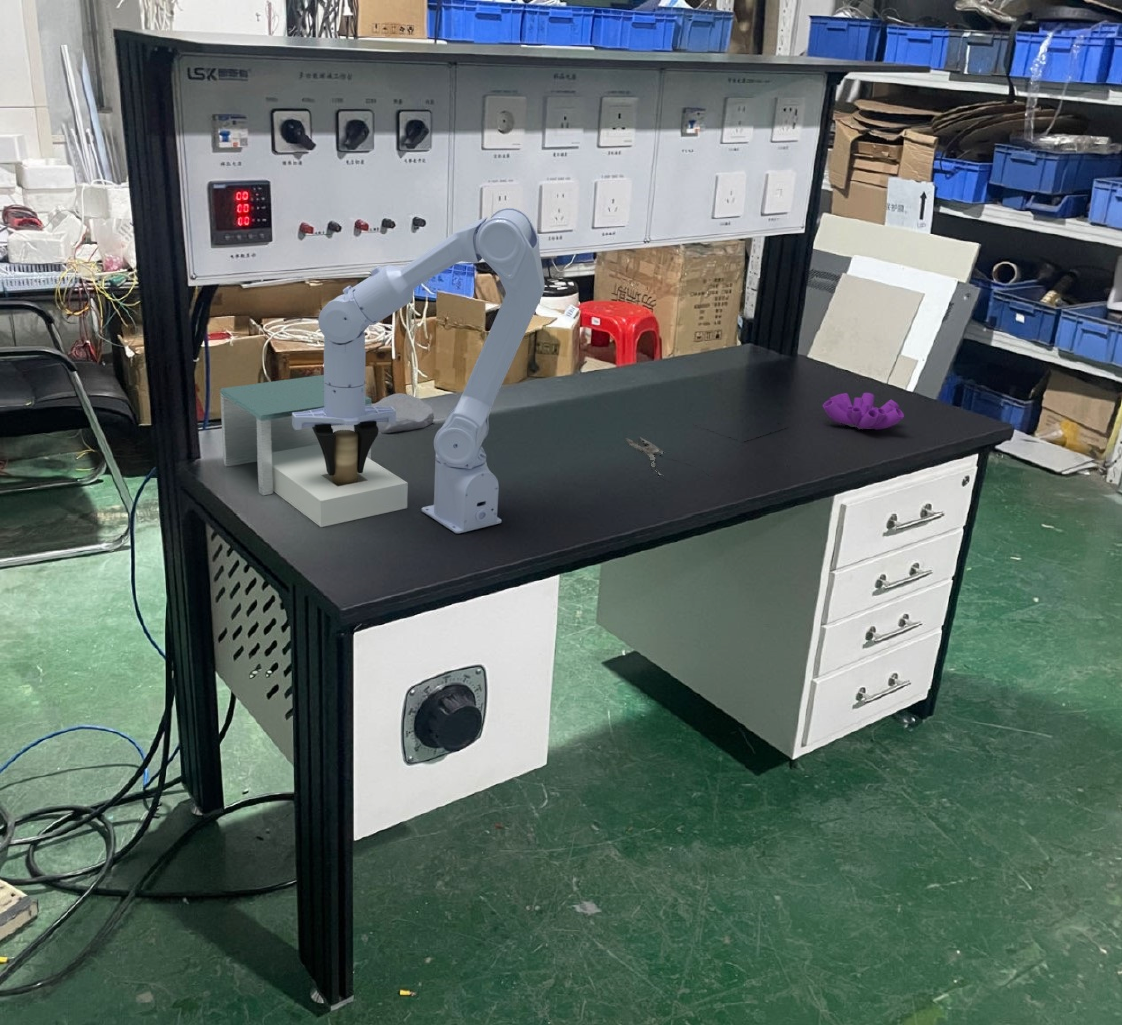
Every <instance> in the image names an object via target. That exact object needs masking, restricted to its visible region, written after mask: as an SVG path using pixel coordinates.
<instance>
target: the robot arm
mask: <svg viewBox="0 0 1122 1025" xmlns="http://www.w3.org/2000/svg"><path fill="white" fill-rule="evenodd" d="M539 237H540V236H539V235H538V233H537V231H536V229H535V227H534V225H533V223H532V222H531V220H530V218H529V216H528V215H527V214H525V212H523V211H522V210H520V209H517V208H514V207H505V208H501V209H499V210H497V211H496V212H494V213H493V214H492V215H491V217H490V218H489V219H488V216H485V217H483V218H481V219H478V220H476V221H474V222H472V223H470V224H467V225H466V226H464V227H461V228H460V229H458V230H456V231H455V232H453V233H452V234H451V235H449V236H447V237H446V238H444V239H443V240H441V241H440V242H438V243H437V244H436V245H434V246H433V247H431V248H430V249H428V250H427V251H425V252H424V253H422V254H421V255H419V256H418V257H416V258H415V259H413V260H412V261H410V262H409V263H408V264H406V265H405V266H403V267H399V266H396V265H391V264H387V265H385V266H384V267H382V266H381V265H377V266H376V267H374V268H373V269H371V270H369V273H370V276H368V277H367V278H365V279H364V280H362V281H361V282H359V283H357V284H356V285H354V286H353V287H352V286H351V285H348V286H346V287H345V288H344V289H342V293H343V294H340V295H338V296H336V297H335V298H334V299H332V300H330V301H328V302H327V304H325V305H324V307H323V308H322V309H321V310H320V312H319V315H318V321H317V323H318V326H319V330H320V332H321V334H322V335H323V337H324V338H323V340H324V341H323V346H324V347H323V348H324V349H323V375H324V408H319V409H314V410H309V411H303V412H294V413H292V426H293V428H294V429H295V430H301V429H302V428H306V427H312V429H313V431H314V433H315V435H316V437H317V439H318V441H319V444H320V446H321V449H322V452H323V455H324V459H325V463H326V470H327V472H328V474H329V475H330V476H332V475H335V462H334V448H335V439H336V436H335V434H334V433H333V432H334V428H332V427H336V426H353V431H355V432H357V433H358V473H363V469H364V464H365V461H366V458H367V455H368V452H369V450H370V448H371V449H372V445H373V444H374V442H375V440H376V438H377V437H378V436H379V429H378V427H377V426H376V425H377V423H384V422H388V423H389V424H393V423H396V410H395V409H394V408H393V407H373V406H365V396H366V353H367V352H366V332H365V331H366V330H367V329H368V328H369V326H374V325H377V324H379V323H380V322H381V321H383V320H384V319H386V318H387V317H389V316H390V315H392V314H394V313H396V312H397V311H399V310H400V309H402V308H404V307H406V305H408V304H410V303H412V301H413V298H414V297H413V296H414V292H415V288H416V287H418V286H420V285H422V284H423V283H426V282H427V281H429V280H430V279H432V278H434V277H436V276H437V275H440V274H441V273H442V272H444V271H447V269H450V268H451V267H453V266H454V265H456V264H458V263H459V262H465V263H471V264H479V263H480V261H481V260H483V261H484V262H485V263H486V264H487V265H488V266H489V267H490V268H491V269H492V271H494V272H495V273H496V274H497V277H498V279H499V282H501V285H502V287H503V289H504V291H505V295H504V297H503V300H502V302H501V304H500V306H499V309H498V311H497V314H496V316H495V317H494V321H493V323H492V325H491V327H490V330H489V332H488V334H487V337H486V338H485V341H484V344H483V345H482V347H481V349H480V350H481V351H480V353H479V355H478V357H477V359H476V362H475V364H474V366H473V368H472V370H471V373H470V376H469V378H468V380H467V382H466V384H465V386H464V389H463V391H462V393H461V396H460V398H459V399H458V401H457V403H456V406H455V407H454V408H453V409H452V410H451V411H450V412H449V414H448V415H447V417H446V419H445V421H444V423H443V425H442V426H441V427H440V428H439V429H438V430H437V431H436V433H435V436H434V439H433V447H434V448H433V449H434V452H435V463H434V464H435V466H434V489H433V490H434V493H433V494H434V496H433V504H431V505H428V506H423V507H422V508H421V512H422V513H424V514H426V516H429V517H430V518H431V519H434V520H435V521H436V522H438V523H439V524H440V525H443V527H445V528H447V529H448V530H450V531H452V532H453V533H454V534H461V533H467V532H471V531H474V530H479V529H482V528H487V527H490V526H495V525H498V524H501V523H502V519H501V518H500V517H498V508H499V507H498V505H499V490H500V489H499V488H500V487H499V485H500V484H499V480H498V478H497V477H496V475H495V474H494V473H492V472H491V470H490V469H489V467H488V464H487V454H486V452H485V450H484V448H483V446H482V443H483V442H484V440H485V439H486V438H487V436H488V434H489V431H490V430H489V428H490V424H489V416H490V413H491V411H492V409H493V406H494V403H495V401H496V398H497V396H498V395H499V393H500V390H501V388H502V385H503V383H504V381H505V379H506V376H507V375H508V371H509V370H510V368H511V365H512V363H513V362H514V359H515V356H516V355H517V352H518V350H519V348H520V345H521V343H522V341H523V339H524V337H525V335H526V332H527V330H528V329H529V326H530V324H531V321H532V319H533V317H534V315H535V313H536V310H537V308H538V306H539V304H540V302H541V299H542V298H543V294H544V292H545V289H546V286H545V285H546V284H545V277H544V270H543V264H542V257H541V253H540V252H541V251H540V238H539Z"/></svg>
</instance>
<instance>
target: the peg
mask: <svg viewBox="0 0 1122 1025" xmlns="http://www.w3.org/2000/svg"><path fill="white" fill-rule="evenodd" d="M333 433H334V434H335V436H336V439H335V448H334V462H335V475H332V483H333V484H335V485H336V486H343V485H348V484H353V483H357V477H358V433H357V432H355V431H354V430H351V429H340V430H339V429H337V430H335V431H333Z"/></svg>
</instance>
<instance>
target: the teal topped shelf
mask: <svg viewBox="0 0 1122 1025" xmlns="http://www.w3.org/2000/svg"><path fill="white" fill-rule="evenodd" d="M219 393H220V394H219V395H220V411H221V412H220V414H221V415H220V416H221V434H222V435H221V437H222V438H221V439H222V455H223V456H222V457H223V459H222V460H223V461H222V462H223V466H225V467H232V466H238V465H244V464H249V463H256V462H257V480H258V493H259V494H261V495H262V496H266V495H267V496H268V495H271V494H272V495H273V494H274V491H273V484H272V452H277V451H283V450H289V449H295V448H300V447H306V446H312V445H318V444H319V441H318V439H317V437H316V435H315V433H314V431H313V429H312V427H306V428H302V429H301V430H295V429H294V428H293V426H292V413H294V412H303V411H309V410H314V409H319V408H324V374H321V375H312V376H303V377H296V378H289V379H281V380H275V381H273V380H272V381H267V382H260V383H258V382H257V383H253V384H251V383H250V384H243V385H237V386H227V387H221V388H220V389H219ZM371 404H372V398H371V397H369V396H367V395H365V406H371ZM371 454H372V447H371V448H370V450H369V452H368V455H367V458H369V459H371V460H372V458H371V457H372V455H371ZM257 455H258V459H257Z"/></svg>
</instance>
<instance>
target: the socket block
mask: <svg viewBox="0 0 1122 1025" xmlns="http://www.w3.org/2000/svg"><path fill="white" fill-rule="evenodd" d="M257 459H258V455H257ZM272 484H273V493H275V494H276V495H278V496H279V497H280V498H282V499H283V500H284V501H286V502H287V503H289V504H290V505H291V507H293V508H295V509H297V511H299V512H301V514H302V515H304V516H306V518H308V519H310V520H311V521H312V522H314V523H315V524H316V525H317V526H319V527H320V528H324V527H329V526H333V525H337V524H338V525H339V524H341V523H347V522H351V521H354V520H360V519H364V518H369V517H373V516H378V515H382V514H386V513H391V512H395V511H401V510H404V509H408V485H409V483H408V482H407V481H406V480H404V479H402V478H401V477H400V476H398V475H397V474H395V473H393V472H391V471H390V470H389V469H387V468H384V466H381V465H380V464H378V462H375V461H374V460H372V458H371V459H369V458H366V461H365V464H364V469H363V473H358V477H357V483H353V484H348V485H343V486H336V485H335V484H333V483H332V476H330V475H329V474H328V472H327V470H326V463H325V459H324V455H323V452H322V449H321V446H320V444H318V445H312V446H306V447H300V448H295V449H289V450H283V451H277V452H272Z"/></svg>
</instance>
